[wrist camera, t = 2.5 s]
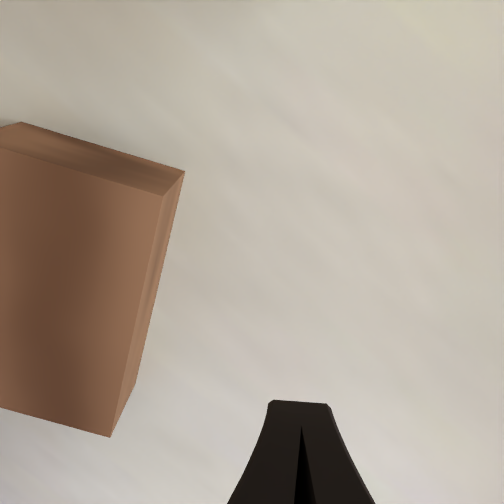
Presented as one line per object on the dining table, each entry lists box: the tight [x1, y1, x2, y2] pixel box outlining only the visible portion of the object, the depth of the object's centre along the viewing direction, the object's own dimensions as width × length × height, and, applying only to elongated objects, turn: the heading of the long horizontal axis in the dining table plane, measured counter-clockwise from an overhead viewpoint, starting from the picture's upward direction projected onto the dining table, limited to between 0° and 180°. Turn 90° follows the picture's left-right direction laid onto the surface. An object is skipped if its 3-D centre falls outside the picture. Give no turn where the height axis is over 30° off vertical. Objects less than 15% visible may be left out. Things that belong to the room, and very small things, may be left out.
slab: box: [0, 122, 185, 438], centre depth 18 cm, size 6×10×4 cm, turn 164°
